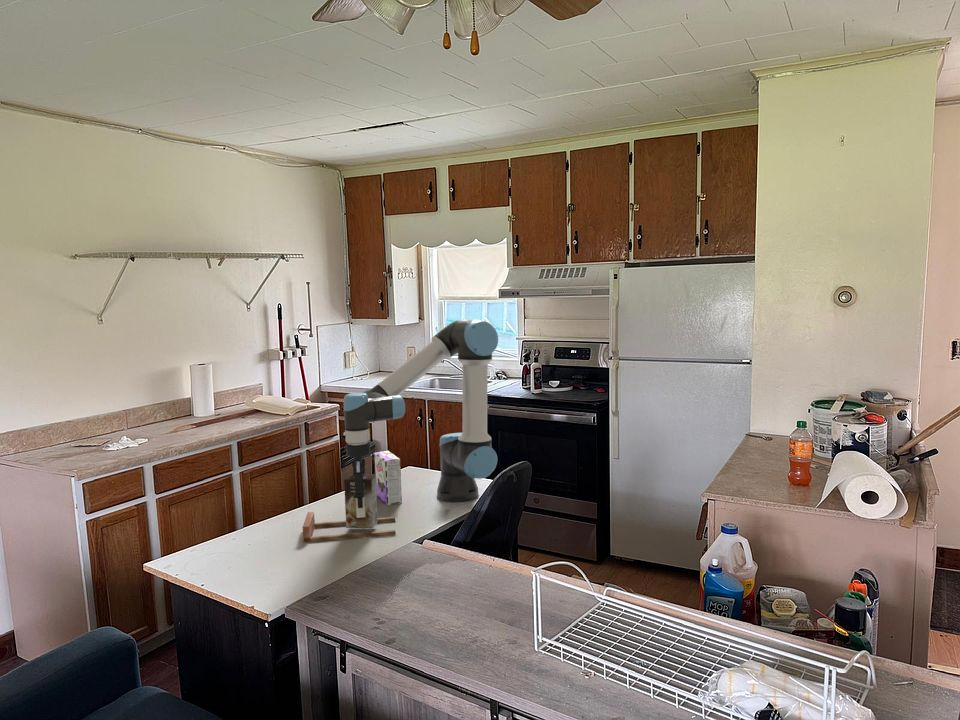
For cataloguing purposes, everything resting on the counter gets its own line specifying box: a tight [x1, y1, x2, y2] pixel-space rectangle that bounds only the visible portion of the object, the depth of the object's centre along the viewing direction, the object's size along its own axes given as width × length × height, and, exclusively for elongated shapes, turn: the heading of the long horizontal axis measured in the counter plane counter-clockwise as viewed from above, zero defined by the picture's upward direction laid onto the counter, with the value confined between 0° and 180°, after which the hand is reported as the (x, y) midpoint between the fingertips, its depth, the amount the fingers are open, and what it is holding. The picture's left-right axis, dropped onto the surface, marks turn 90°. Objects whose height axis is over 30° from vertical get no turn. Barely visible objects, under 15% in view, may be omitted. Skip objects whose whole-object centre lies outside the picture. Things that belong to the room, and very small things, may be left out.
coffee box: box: [343, 473, 378, 530], centre depth 214 cm, size 9×6×16 cm
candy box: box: [373, 450, 403, 506], centre depth 245 cm, size 14×6×16 cm, turn 25°
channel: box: [302, 511, 397, 543], centre depth 214 cm, size 28×13×5 cm, turn 98°
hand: (361, 512), depth 214 cm, fingers closed on coffee box, 7 cm apart
